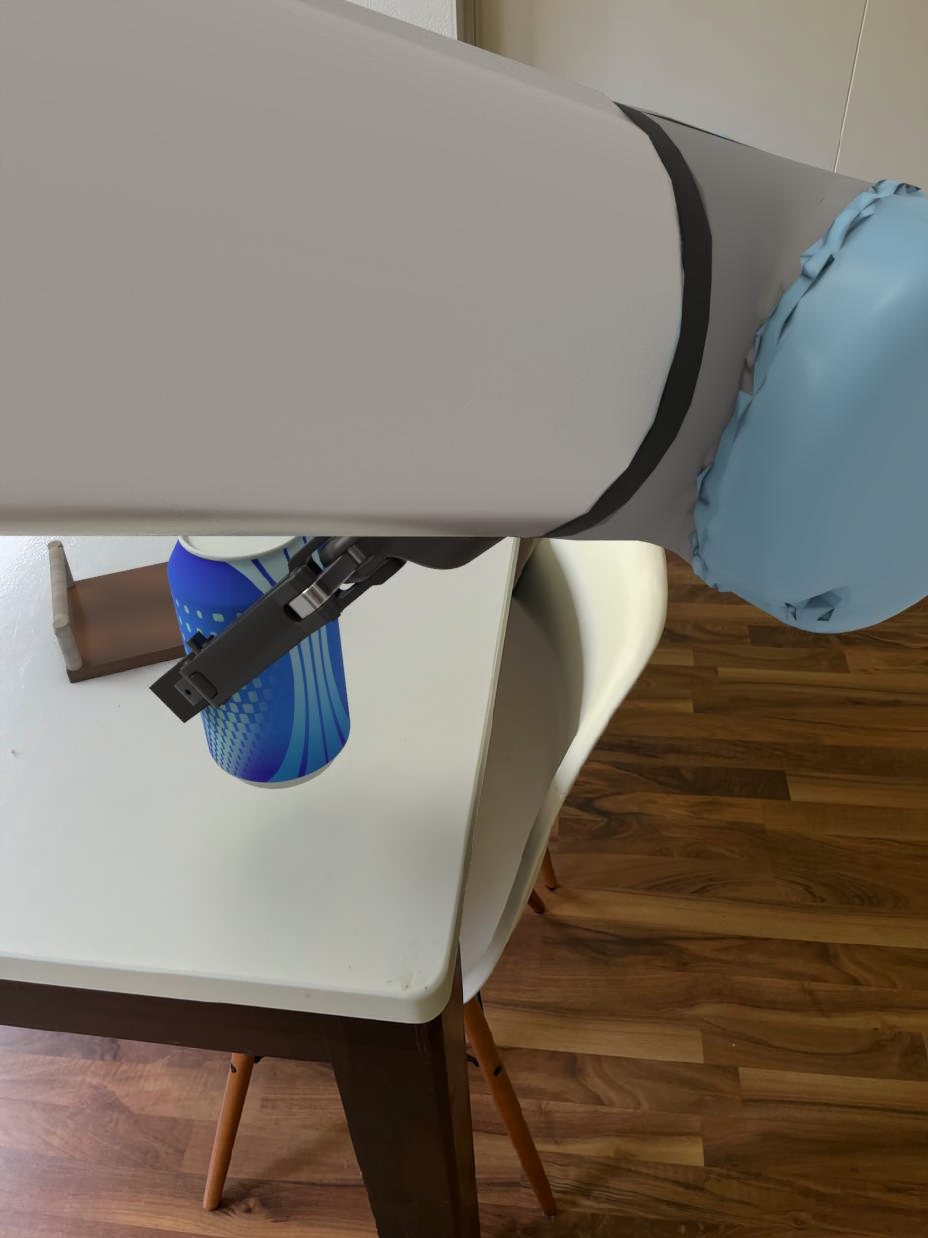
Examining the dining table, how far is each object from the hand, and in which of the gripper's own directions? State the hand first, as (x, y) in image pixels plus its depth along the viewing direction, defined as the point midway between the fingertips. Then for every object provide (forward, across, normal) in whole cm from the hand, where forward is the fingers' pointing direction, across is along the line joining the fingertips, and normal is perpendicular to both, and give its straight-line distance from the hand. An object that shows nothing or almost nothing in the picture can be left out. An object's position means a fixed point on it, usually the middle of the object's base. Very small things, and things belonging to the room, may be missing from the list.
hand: (220, 653), depth 57 cm
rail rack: (+27, +16, +5) cm, 32 cm away
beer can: (+2, 0, -7) cm, 7 cm away
